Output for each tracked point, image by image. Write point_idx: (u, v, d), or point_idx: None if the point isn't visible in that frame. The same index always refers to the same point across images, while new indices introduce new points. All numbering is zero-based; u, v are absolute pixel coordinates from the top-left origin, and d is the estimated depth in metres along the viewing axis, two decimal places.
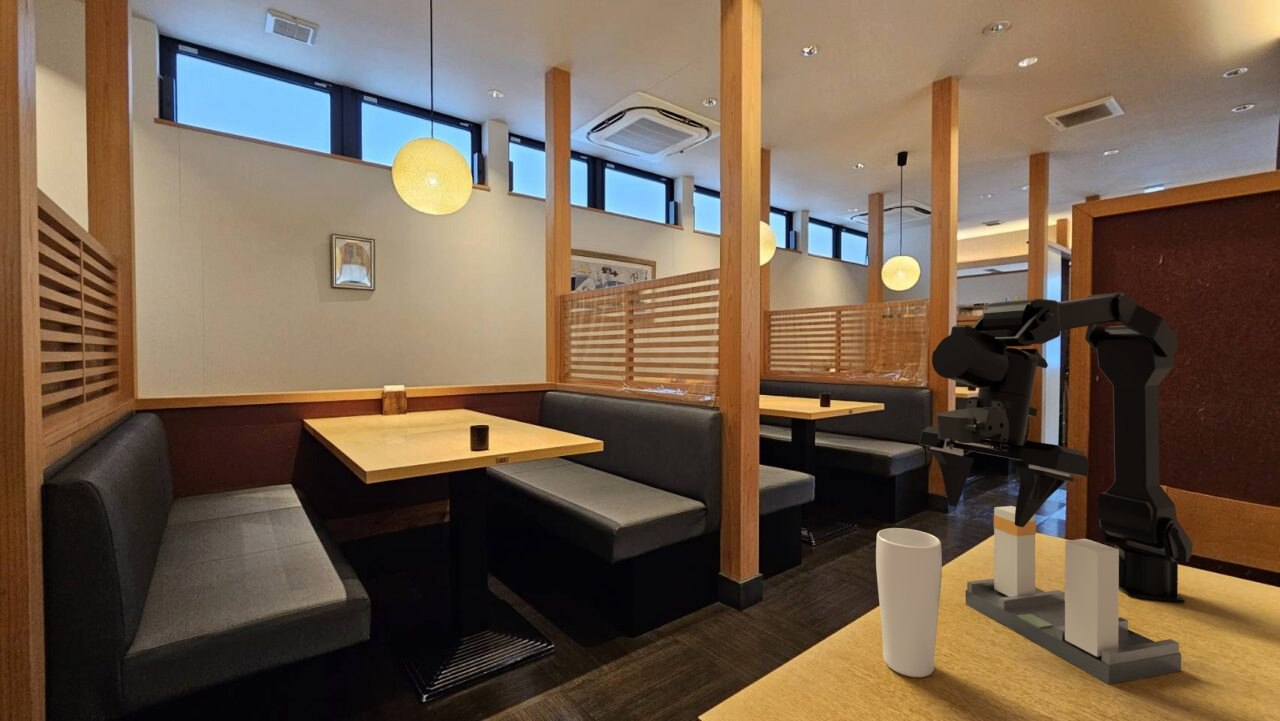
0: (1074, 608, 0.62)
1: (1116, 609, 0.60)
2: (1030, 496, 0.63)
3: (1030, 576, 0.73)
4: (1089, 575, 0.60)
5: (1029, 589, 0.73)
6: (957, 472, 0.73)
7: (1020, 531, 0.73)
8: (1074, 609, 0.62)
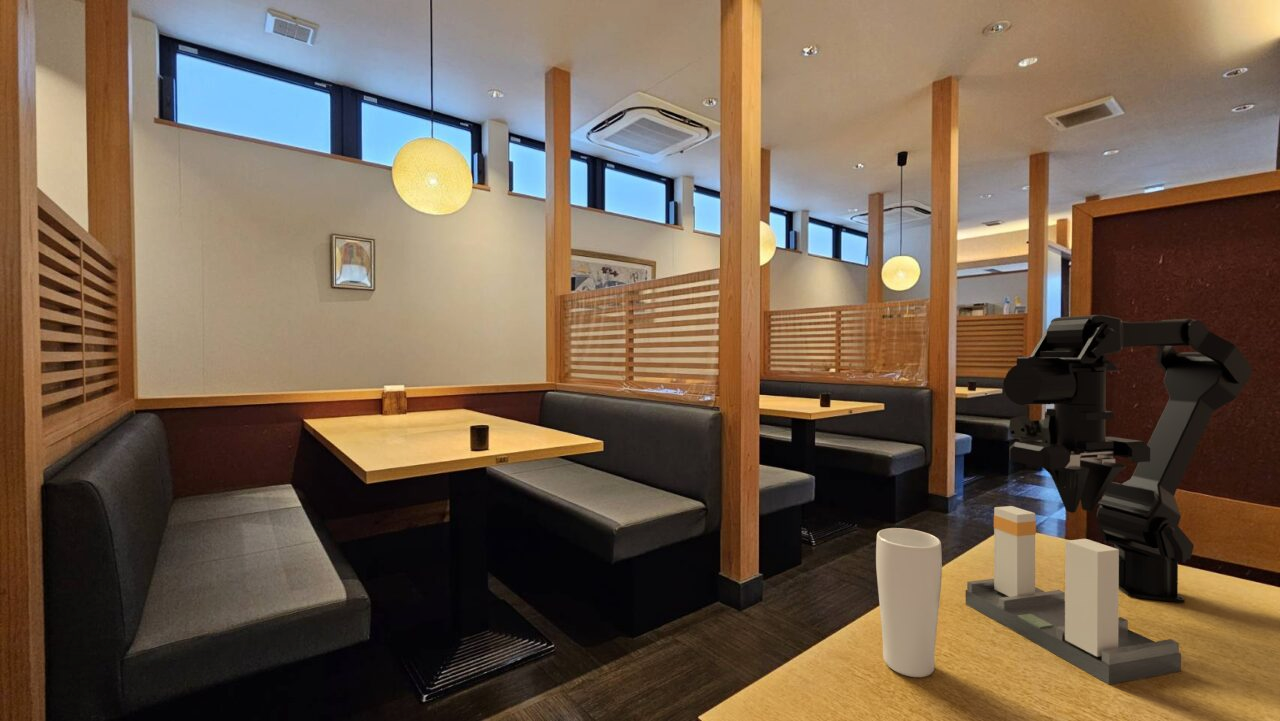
0: (1074, 608, 0.62)
1: (1116, 609, 0.60)
2: (1058, 485, 0.77)
3: (1030, 576, 0.73)
4: (1089, 575, 0.60)
5: (1029, 589, 0.73)
6: (1089, 479, 0.78)
7: (1020, 531, 0.73)
8: (1074, 609, 0.62)
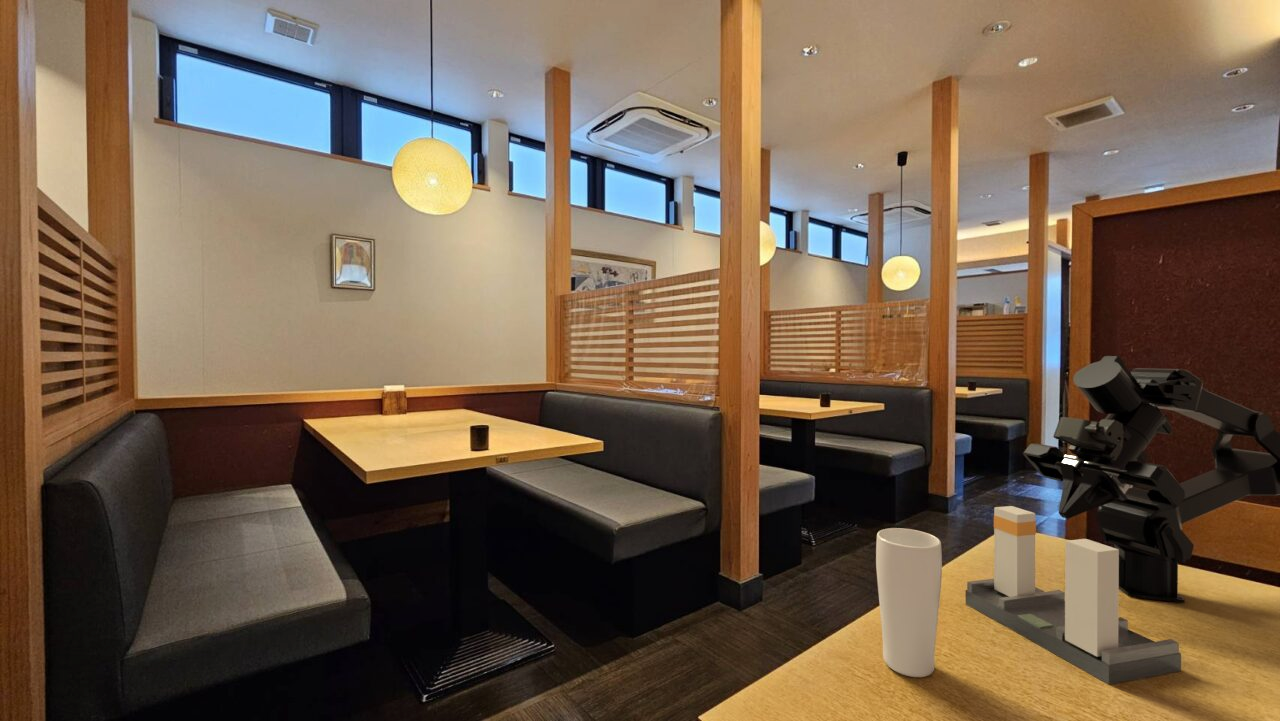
0: (1074, 608, 0.62)
1: (1116, 609, 0.60)
2: (1085, 495, 0.76)
3: (1030, 576, 0.73)
4: (1089, 575, 0.60)
5: (1029, 589, 0.73)
6: None
7: (1020, 531, 0.73)
8: (1074, 609, 0.62)
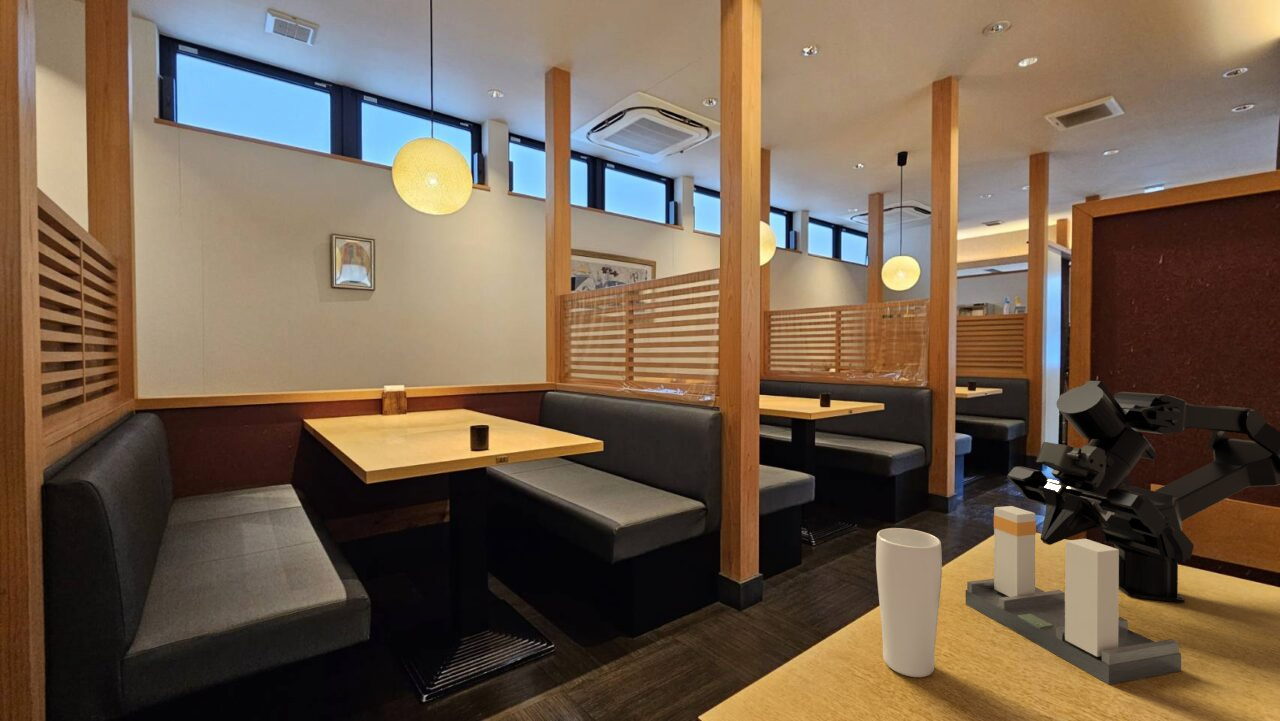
0: (1074, 608, 0.62)
1: (1116, 609, 0.60)
2: (1067, 521, 0.75)
3: (1030, 576, 0.73)
4: (1089, 575, 0.60)
5: (1029, 589, 0.73)
6: None
7: (1020, 531, 0.73)
8: (1074, 609, 0.62)
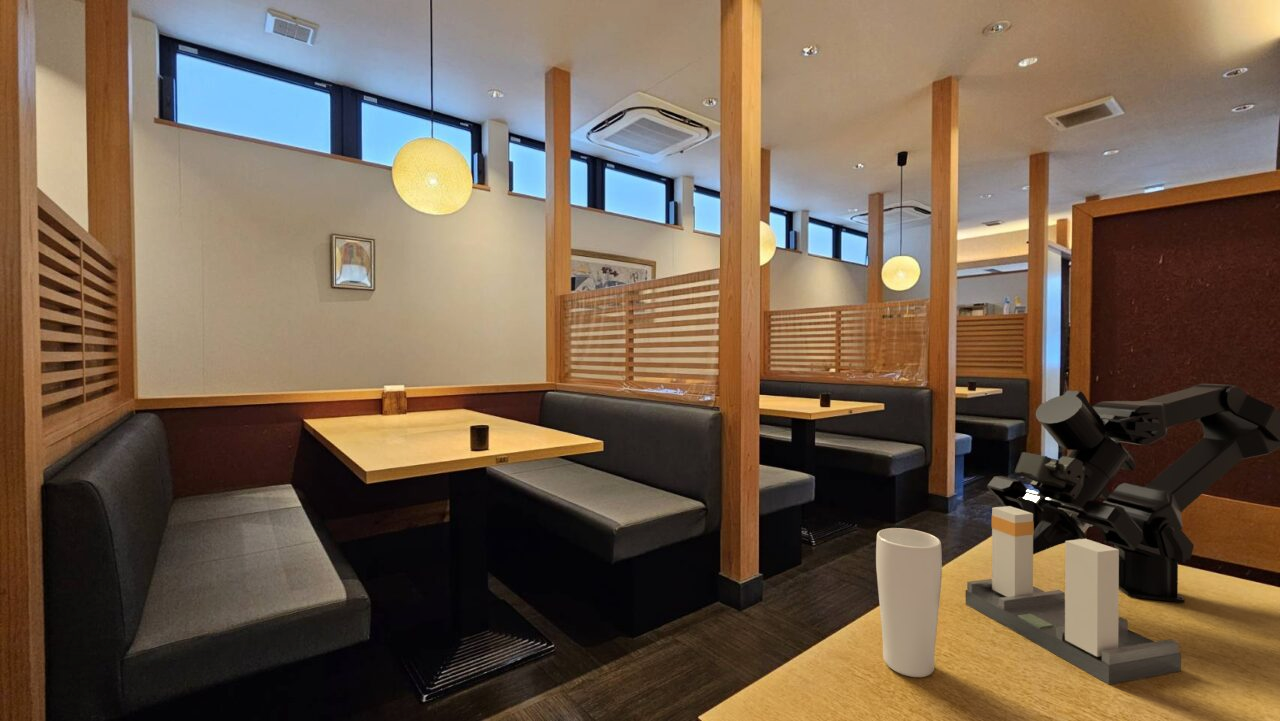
0: (1074, 608, 0.62)
1: (1116, 609, 0.60)
2: (1044, 533, 0.74)
3: (1028, 576, 0.73)
4: (1089, 575, 0.60)
5: (1026, 590, 0.73)
6: None
7: (1018, 532, 0.73)
8: (1074, 609, 0.62)
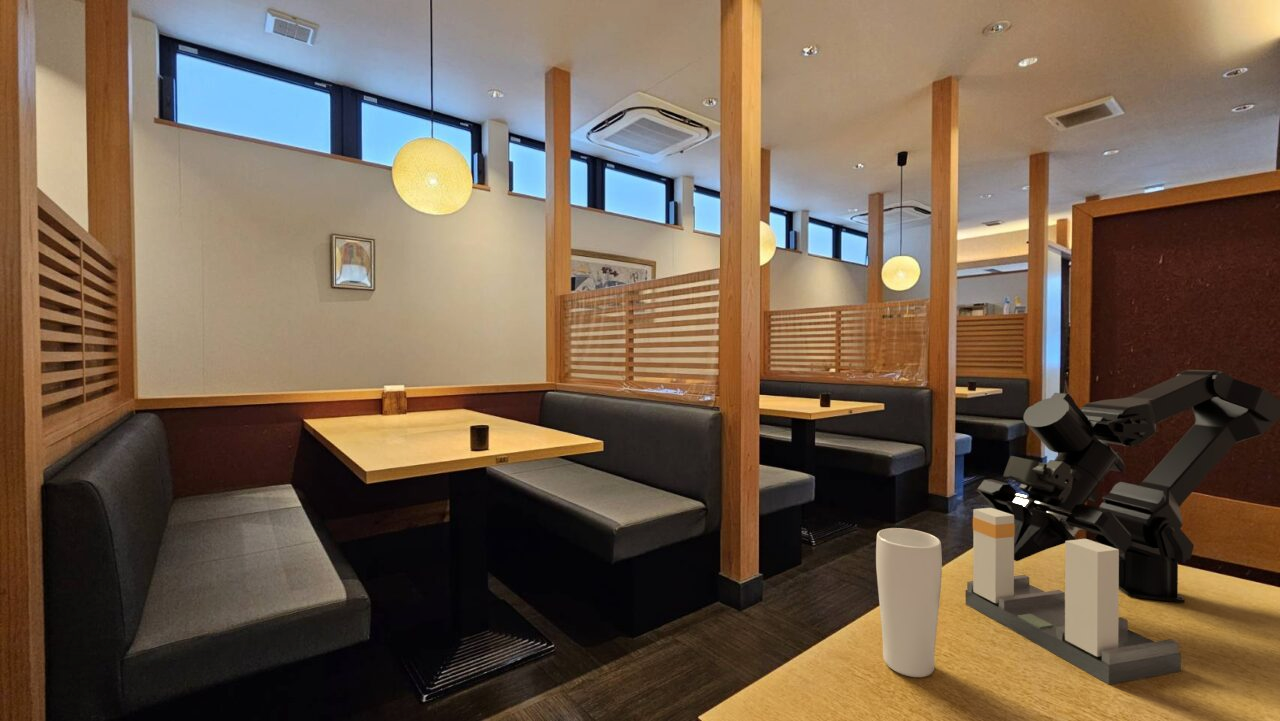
0: (1074, 608, 0.62)
1: (1116, 609, 0.60)
2: (1034, 537, 0.74)
3: (1009, 579, 0.73)
4: (1089, 575, 0.60)
5: (1007, 592, 0.73)
6: None
7: (998, 534, 0.72)
8: (1074, 609, 0.62)
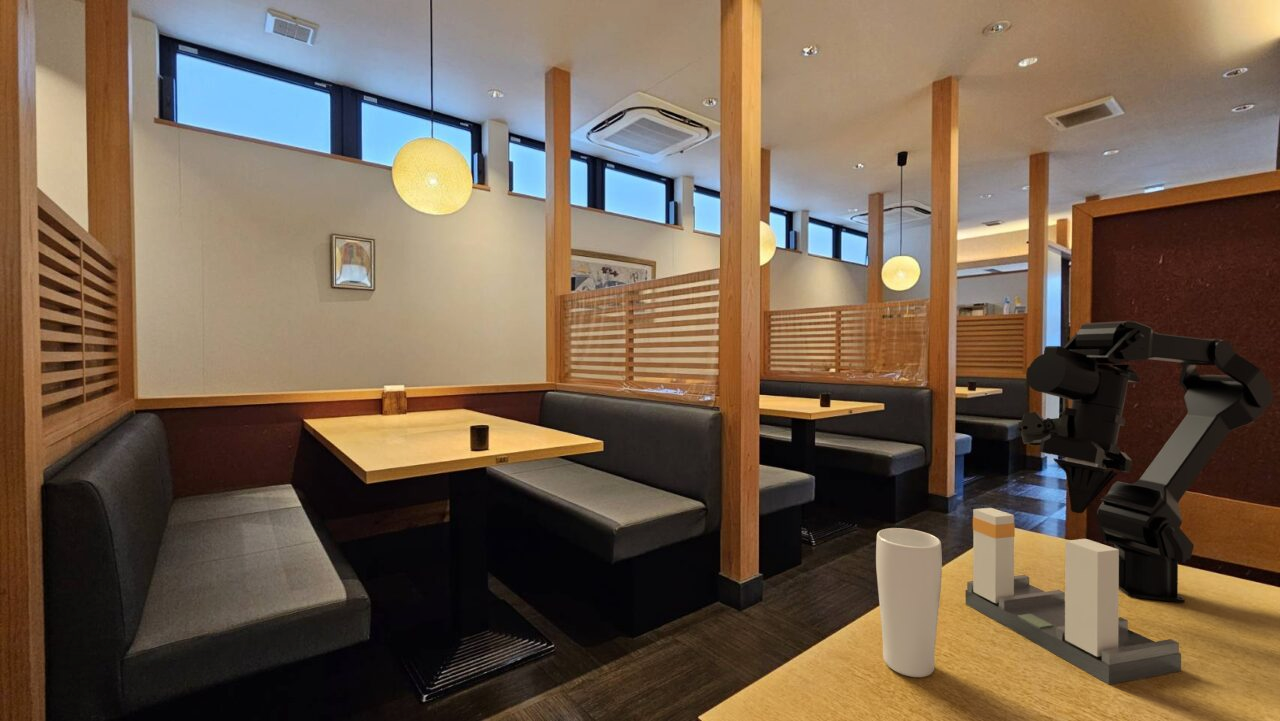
0: (1074, 608, 0.62)
1: (1116, 609, 0.60)
2: (1071, 484, 0.77)
3: (1009, 579, 0.73)
4: (1089, 575, 0.60)
5: (1007, 592, 0.73)
6: None
7: (998, 534, 0.72)
8: (1074, 609, 0.62)
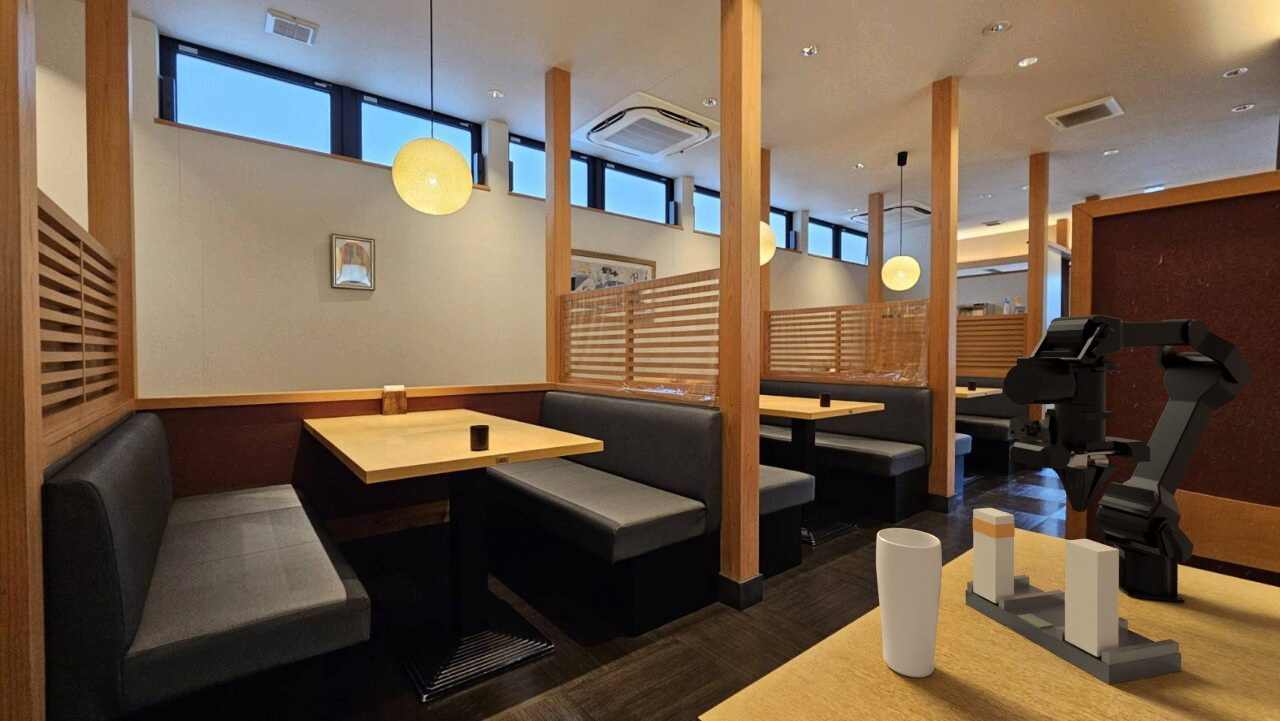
0: (1074, 608, 0.62)
1: (1116, 609, 0.60)
2: (1065, 484, 0.78)
3: (1009, 579, 0.73)
4: (1089, 575, 0.60)
5: (1007, 592, 0.73)
6: None
7: (998, 534, 0.72)
8: (1074, 609, 0.62)
